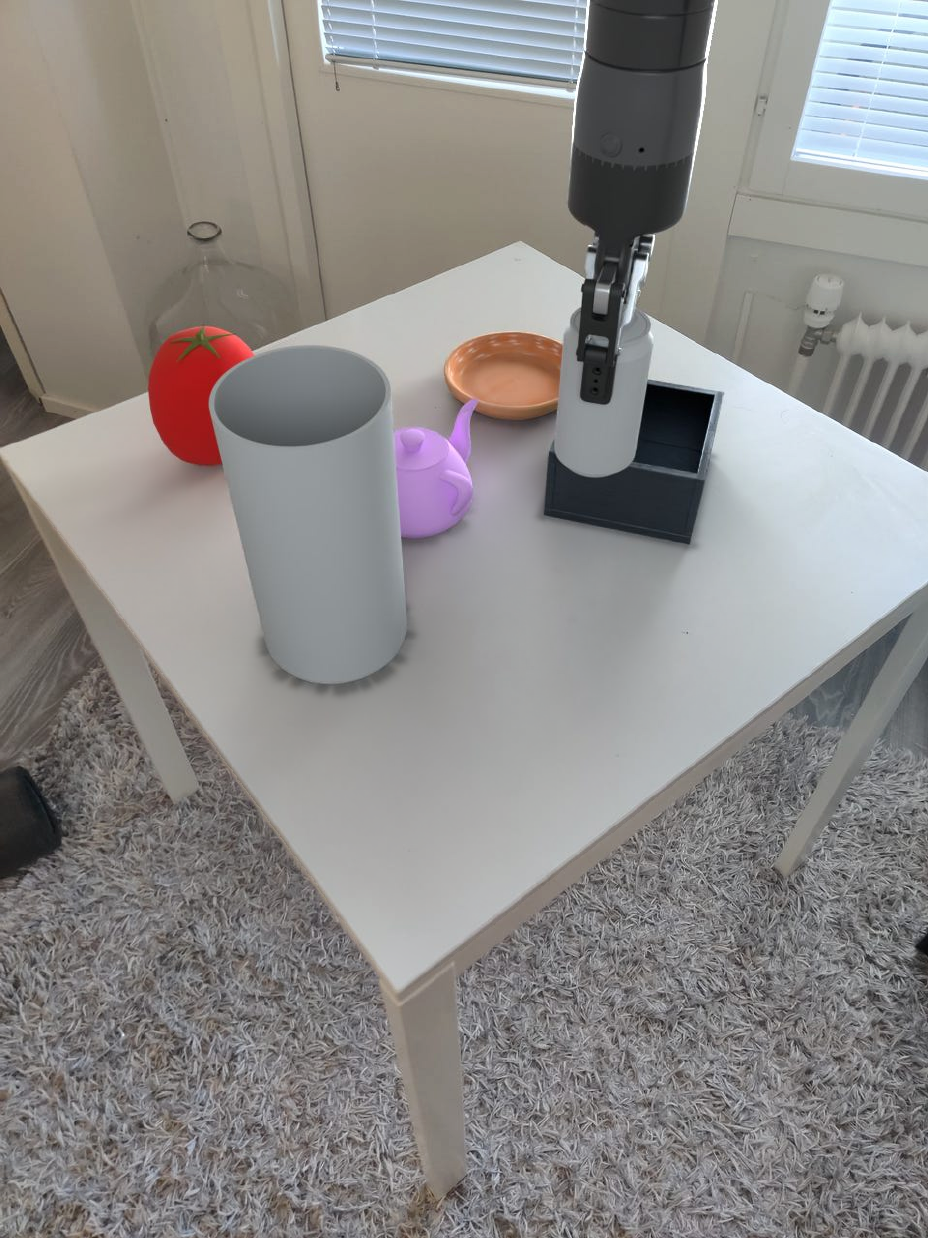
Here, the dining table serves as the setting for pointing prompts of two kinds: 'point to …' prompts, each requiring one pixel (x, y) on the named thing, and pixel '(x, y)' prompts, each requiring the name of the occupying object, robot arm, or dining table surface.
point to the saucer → (507, 374)
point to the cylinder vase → (316, 506)
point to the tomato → (191, 389)
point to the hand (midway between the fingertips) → (604, 373)
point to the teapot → (433, 476)
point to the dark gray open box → (647, 470)
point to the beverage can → (603, 432)
